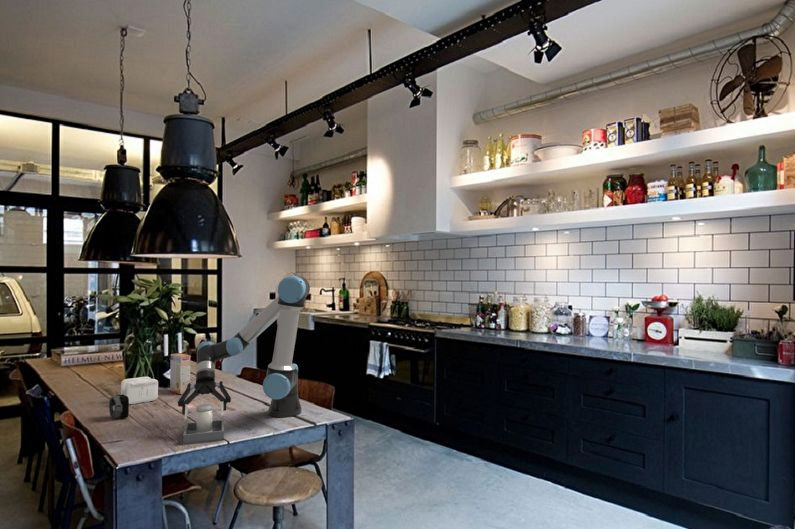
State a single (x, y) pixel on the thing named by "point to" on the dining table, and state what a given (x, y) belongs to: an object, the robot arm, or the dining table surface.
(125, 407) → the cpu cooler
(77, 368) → the dining table surface
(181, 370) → the cracker box
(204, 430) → the grey lidded jar
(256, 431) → the dining table surface
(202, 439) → the parts tray
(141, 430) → the dining table surface
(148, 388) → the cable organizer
